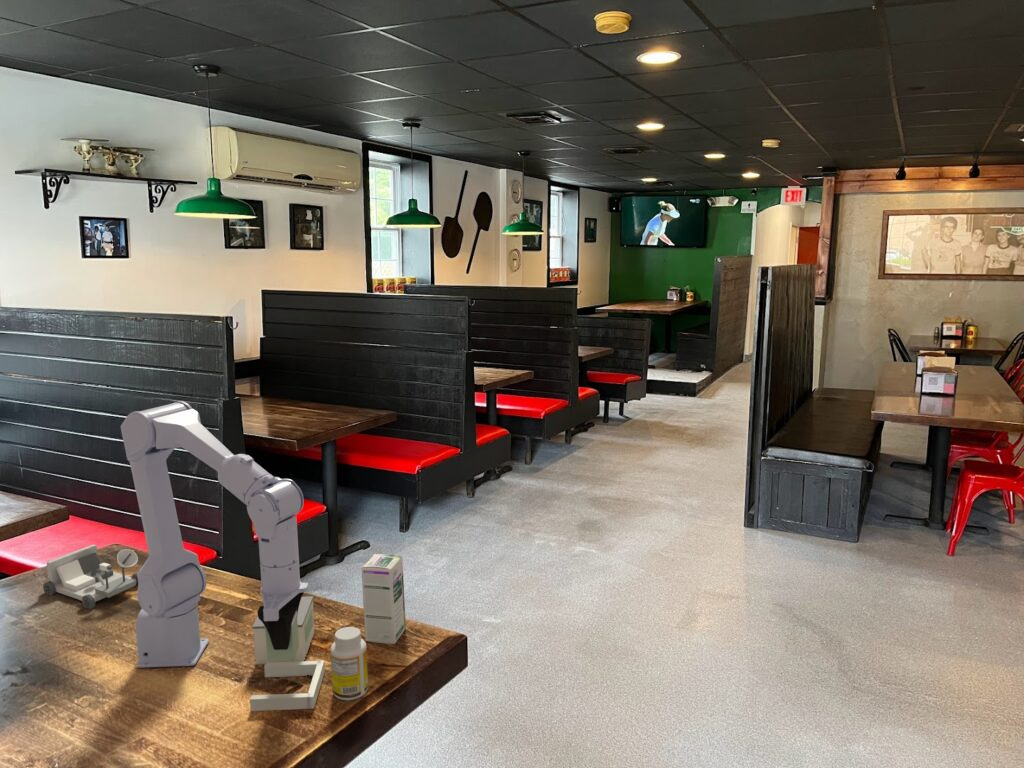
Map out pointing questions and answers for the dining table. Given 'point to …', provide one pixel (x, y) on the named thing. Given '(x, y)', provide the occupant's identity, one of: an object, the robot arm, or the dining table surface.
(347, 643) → the supplement bottle
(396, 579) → the syrup box
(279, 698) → the dock
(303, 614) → the box
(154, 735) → the dining table surface
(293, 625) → the block
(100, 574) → the toy car
